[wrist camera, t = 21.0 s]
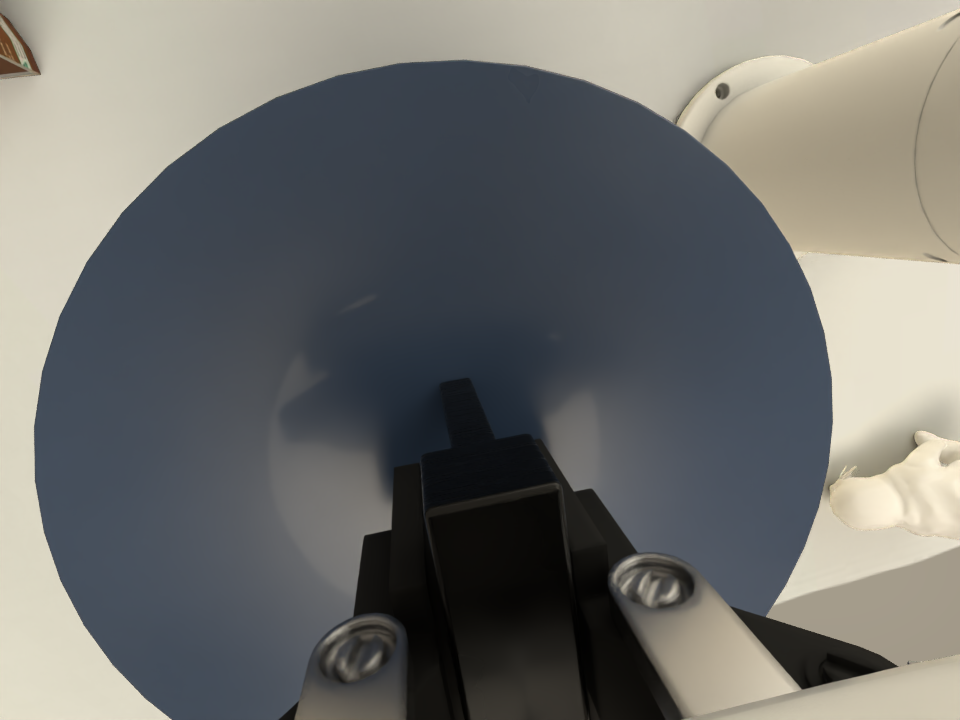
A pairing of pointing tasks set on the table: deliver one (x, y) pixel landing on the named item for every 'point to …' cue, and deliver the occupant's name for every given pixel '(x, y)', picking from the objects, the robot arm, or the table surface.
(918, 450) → the white lumpy rounded piece
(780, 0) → the table surface
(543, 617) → the lid
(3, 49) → the food container
